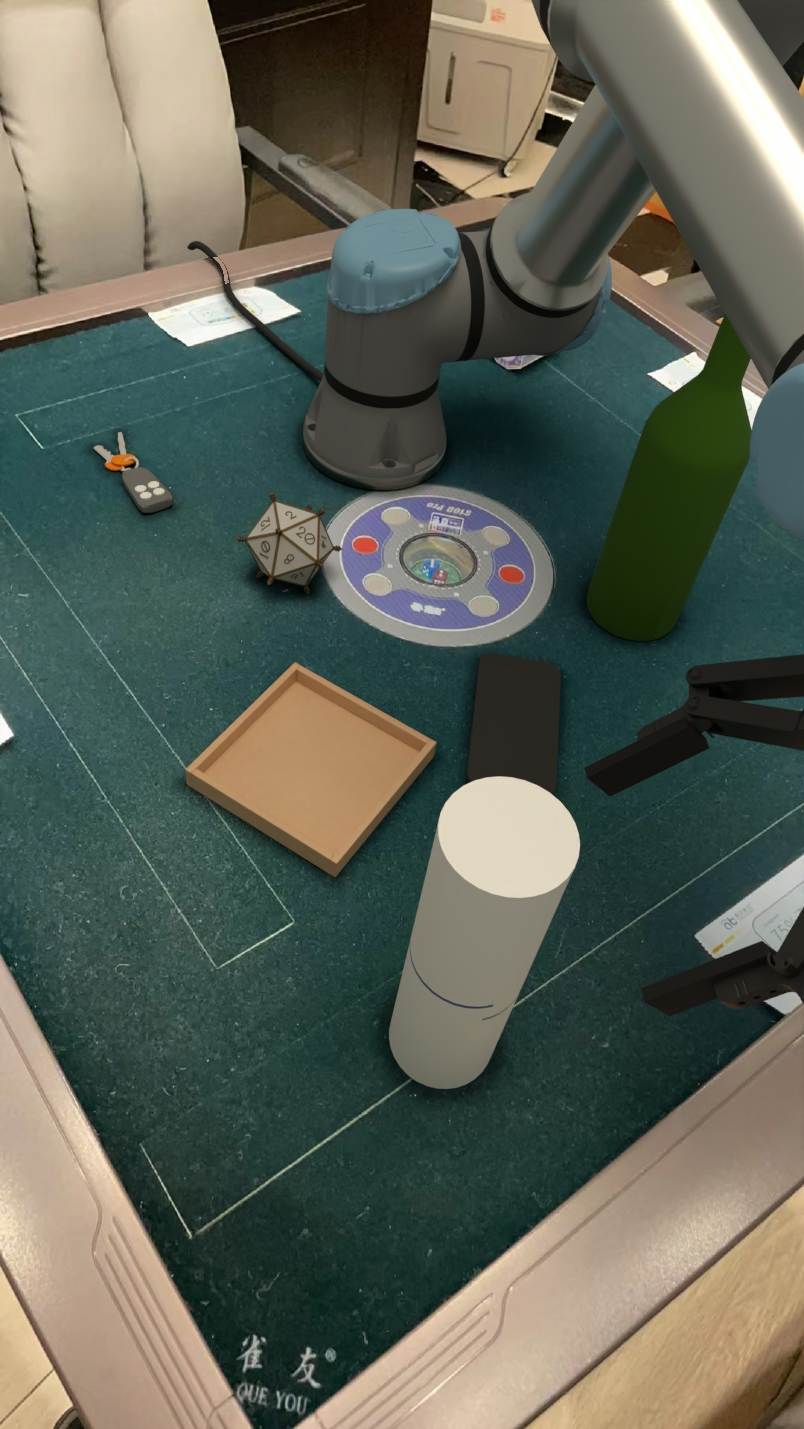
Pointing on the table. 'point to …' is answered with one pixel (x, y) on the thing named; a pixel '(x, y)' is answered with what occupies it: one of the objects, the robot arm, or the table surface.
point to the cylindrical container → (479, 925)
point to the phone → (515, 721)
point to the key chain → (137, 479)
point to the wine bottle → (674, 497)
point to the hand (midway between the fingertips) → (623, 884)
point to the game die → (289, 543)
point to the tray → (312, 767)
